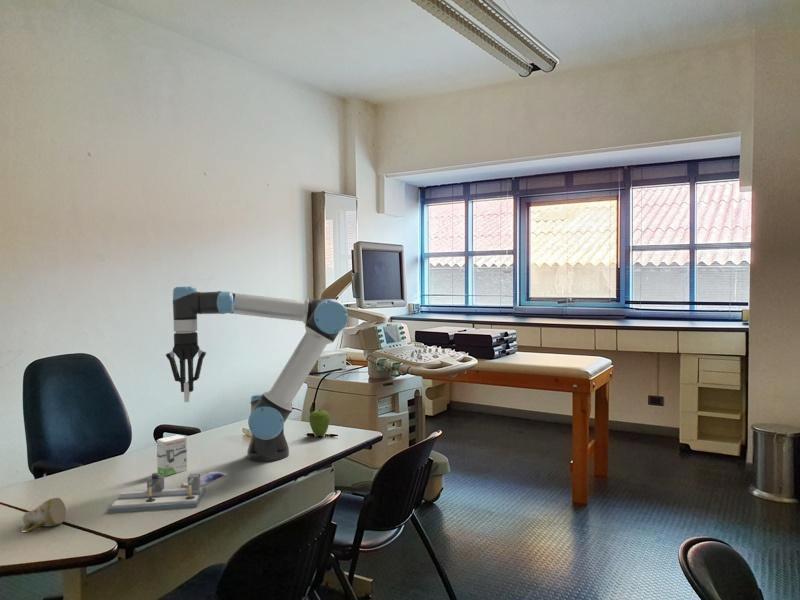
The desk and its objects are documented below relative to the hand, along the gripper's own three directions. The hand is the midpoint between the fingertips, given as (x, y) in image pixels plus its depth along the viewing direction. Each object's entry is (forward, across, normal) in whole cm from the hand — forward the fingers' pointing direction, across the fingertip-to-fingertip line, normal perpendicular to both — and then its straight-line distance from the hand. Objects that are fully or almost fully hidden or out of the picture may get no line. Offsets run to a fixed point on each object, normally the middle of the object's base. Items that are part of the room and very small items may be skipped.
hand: (187, 401), depth 195 cm
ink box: (+25, +6, -2) cm, 25 cm away
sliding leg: (+22, +4, +26) cm, 34 cm away
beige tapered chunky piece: (+25, +30, +38) cm, 54 cm away
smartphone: (+25, -7, +9) cm, 27 cm away
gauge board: (+24, +3, +26) cm, 36 cm away
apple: (+25, -44, -39) cm, 64 cm away
